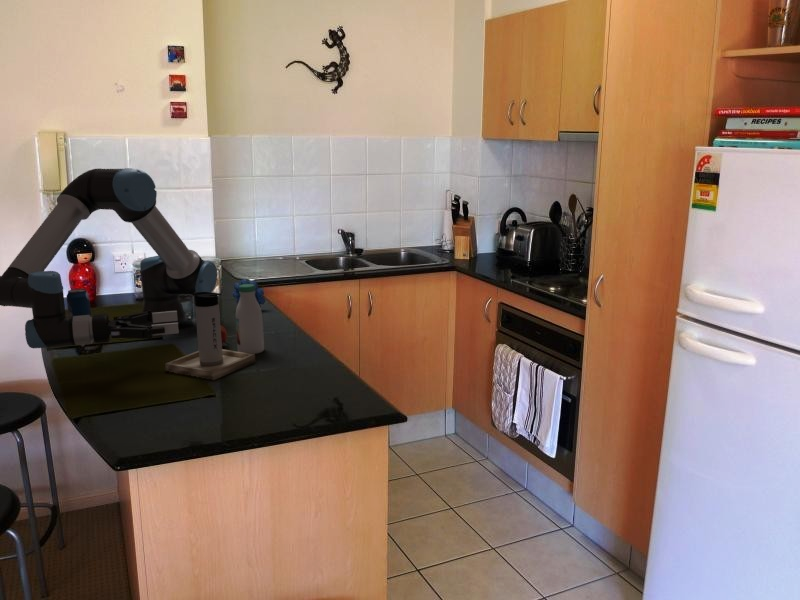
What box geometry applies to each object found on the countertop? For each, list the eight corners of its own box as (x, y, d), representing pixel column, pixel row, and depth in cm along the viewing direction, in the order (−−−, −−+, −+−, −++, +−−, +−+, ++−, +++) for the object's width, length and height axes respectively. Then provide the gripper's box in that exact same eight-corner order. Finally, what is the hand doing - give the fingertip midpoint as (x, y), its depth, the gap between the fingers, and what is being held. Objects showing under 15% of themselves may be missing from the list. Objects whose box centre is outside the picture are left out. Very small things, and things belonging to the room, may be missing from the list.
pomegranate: (219, 349, 221) (192, 335, 215) (232, 330, 222) (206, 315, 216) (226, 358, 215) (199, 344, 209) (240, 338, 216) (214, 323, 210)
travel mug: (200, 359, 201) (195, 290, 196) (224, 358, 201) (219, 289, 197) (196, 367, 195) (190, 295, 190) (221, 365, 195) (215, 294, 191)
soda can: (96, 322, 247) (92, 288, 245) (85, 327, 241) (81, 292, 238) (76, 321, 248) (72, 288, 245) (65, 327, 241) (61, 292, 239)
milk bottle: (269, 348, 214) (265, 283, 209) (255, 356, 207) (251, 288, 202) (246, 346, 216) (242, 281, 212) (232, 354, 209) (227, 287, 205)
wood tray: (165, 371, 195) (165, 363, 194) (208, 354, 209) (208, 346, 209) (214, 380, 187) (213, 372, 187) (255, 361, 202) (254, 354, 201)
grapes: (231, 314, 255) (229, 281, 252) (234, 310, 262) (232, 278, 259) (264, 313, 256) (262, 280, 253) (266, 309, 262) (264, 277, 260)
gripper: (98, 330, 199) (177, 323, 205) (89, 356, 176) (180, 347, 182) (95, 304, 197) (175, 298, 204) (86, 327, 174) (177, 319, 180)
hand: (177, 321), depth 193 cm, fingers open, 13 cm apart
